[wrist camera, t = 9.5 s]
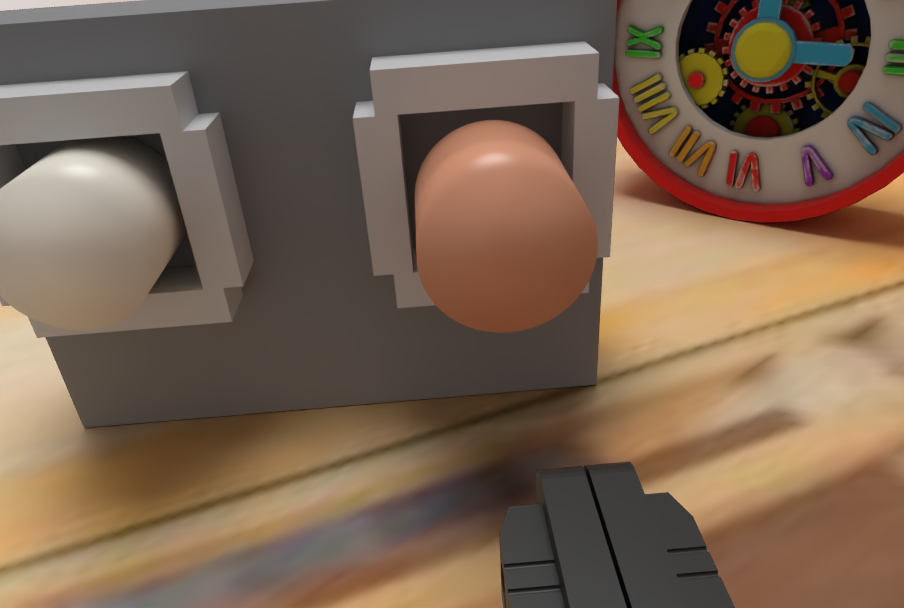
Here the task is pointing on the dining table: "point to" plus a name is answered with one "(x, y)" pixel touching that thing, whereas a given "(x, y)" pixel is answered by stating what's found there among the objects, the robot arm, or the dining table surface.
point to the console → (308, 189)
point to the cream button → (88, 232)
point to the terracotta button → (501, 228)
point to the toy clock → (762, 101)
